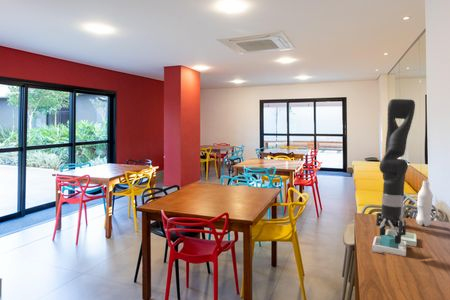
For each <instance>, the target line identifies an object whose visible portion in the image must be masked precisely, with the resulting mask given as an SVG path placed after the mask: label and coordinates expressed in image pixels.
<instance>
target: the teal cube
mask: <svg viewBox="0 0 450 300" xmlns="http://www.w3.org/2000/svg"><path fill="white" fill-rule="evenodd" d="M380 246H385V247H390V248H396V249H398V248H399V244H395V237H394V236H392V235H381V241H380Z"/></svg>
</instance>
